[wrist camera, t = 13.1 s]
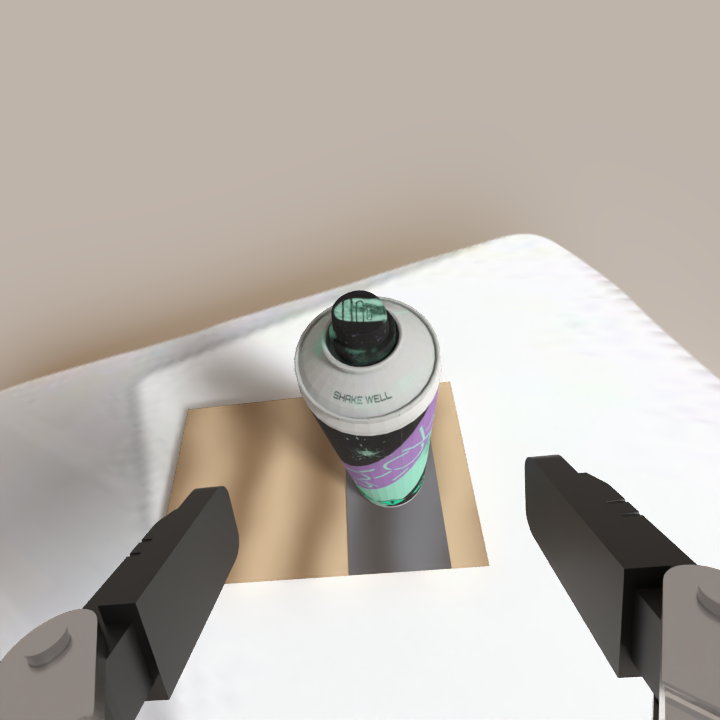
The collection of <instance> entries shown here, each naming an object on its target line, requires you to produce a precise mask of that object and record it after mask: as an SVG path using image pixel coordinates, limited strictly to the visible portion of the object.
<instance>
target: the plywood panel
mask: <svg viewBox="0 0 720 720" xmlns="http://www.w3.org/2000/svg"><path fill="white" fill-rule="evenodd" d="M216 486H224V487H226V489H227V490H228V493H229V496H230V500H231V504H232V509H233V513H234V517H235V521H236V525H237V529H238V533H239V550H238V555H237V558H236V561H235V563H234V565H233V567H232V569H231V571H230V573H229V575H228V577H227V580H226V582H225V584H229V583H244V582H259V581H274V580H288V579H303V578H318V577H333V576H347V575H362V574H377V573H392V572H407V571H421V570H436V569H451V568H466V567H480V566H489V562H488V558H487V553H486V548H485V543H484V539H483V534H482V529H481V525H480V520H479V515H478V511H477V506H476V501H475V496H474V492H473V487H472V482H471V478H470V473H469V468H468V464H467V459H466V454H465V450H464V445H463V440H462V435H461V431H460V426H459V421H458V417H457V412H456V407H455V403H454V398H453V393H452V388H451V384H450V382H442V383H439V388H438V394H437V401H436V407H435V413H434V419H433V426H432V432H431V438H430V444H429V451H428V457H427V463H426V469H425V475H424V481H423V484H422V486H421V489H420V490H419V492H418V493H417V495H416V496H415V497H414V498H413V499H412V500H411V501H409V502H408V503H406V504H404V505H401V506H399V507H392V508H389V507H382V506H378V505H376V504H374V503H372V502H370V501H369V500H368V499H367V498H365V497H364V496H363V494H362V493H361V492H360V491H359V489H358V487H357V486H356V484H355V482H354V481H353V479H352V477H351V476H350V474H349V473H348V471H347V469H346V468H345V466H344V464H343V463H342V461H341V459H340V458H339V456H338V455H337V453H336V451H335V450H334V448H333V446H332V445H331V443H330V441H329V440H328V438H327V436H326V435H325V433H324V432H323V430H322V428H321V427H320V425H319V423H318V422H317V420H316V418H315V417H314V415H313V414H312V412H311V410H310V409H309V407H308V405H307V404H306V402H305V400H304V398H303V397H301V398H292V399H282V400H273V401H263V402H254V403H245V404H235V405H226V406H216V407H207V408H198V409H188V414H187V419H186V424H185V429H184V434H183V438H182V443H181V448H180V453H179V458H178V462H177V467H176V472H175V477H174V482H173V487H172V491H171V496H170V501H169V506H168V511H167V515H168V514H169V513H171V512H172V511H173V510H175V509H178V508H179V506H180V505H181V504H182V503H183V501H184V500H185V499H186V498H187V497H188V495H189V494H190V493H191V492H192V491H193V490H194V489H196V488H205V487H216ZM167 515H166V516H167Z"/></svg>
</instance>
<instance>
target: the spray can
mask: <svg viewBox="0 0 720 720" xmlns="http://www.w3.org/2000/svg"><path fill="white" fill-rule="evenodd" d="M294 360H295V373H296V377H297V381H298V384H299V388H300V391H301V394H302V396H303V398H304V400H305V402H306V404H307V405H308V407H309V409H310V410H311V412H312V414H313V415H314V417H315V418H316V420H317V422H318V423H319V425H320V427H321V428H322V430H323V432H324V433H325V435H326V436H327V438H328V440H329V441H330V443H331V445H332V446H333V448H334V450H335V451H336V453H337V455H338V456H339V458H340V459H341V461H342V463H343V464H344V466H345V468H346V469H347V471H348V473H349V474H350V476H351V477H352V479H353V481H354V482H355V484H356V486H357V487H358V489H359V491H360V492H361V493H362V494H363V496H364V497H365V498H367V499H368V500H369V501H370V502H372V503H374V504H376V505H378V506H382V507H389V508H392V507H399V506H401V505H404V504H406V503H408V502H409V501H411V500H412V499H413V498H414V497H415V496H416V495H417V493H418V492H419V490H420V489H421V486H422V484H423V481H424V475H425V469H426V463H427V457H428V451H429V444H430V438H431V432H432V426H433V419H434V413H435V407H436V401H437V394H438V388H439V382H440V376H441V357H440V348H439V343H438V340H437V336H436V334H435V332H434V330H433V328H432V326H431V325H430V323H429V322H428V321H427V320H426V319H425V317H424V316H423V315H422V314H420V313H419V312H418V311H417V310H415V309H414V308H413V307H411V306H409V305H407V304H405V303H403V302H400V301H397V300H394V299H391V298H385V297H378V296H375V295H374V294H372V293H370V292H367V291H360V290H358V291H352V292H349V293H347V294H345V295H343V296H341V297H340V298H339V299H338V300H337V301H336V302H335V303H334V305H333V306H332V307H330V308H328V309H326V310H325V311H323V312H322V313H321V314H319V315H318V316H317V317H316V318H315V319H314V320H313V321H312V322H311V323H310V324H309V325H308V326H307V328H306V329H305V331H304V332H303V334H302V335H301V338H300V340H299V342H298V345H297V348H296V353H295V358H294Z"/></svg>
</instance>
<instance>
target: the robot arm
mask: <svg viewBox="0 0 720 720" xmlns="http://www.w3.org/2000/svg"><path fill="white" fill-rule="evenodd" d="M525 499H526V516H527V520H528V524H529V527H530V530H531V533H532V535H533V537H534V538H535V540H536V542H537V543H538V545H539V547H540V548H541V550H542V552H543V553H544V555H545V557H546V558H547V560H548V562H549V563H550V565H551V567H552V568H553V570H554V572H555V573H556V575H557V577H558V578H559V580H560V582H561V583H562V585H563V587H564V588H565V590H566V592H567V593H568V595H569V597H570V598H571V600H572V602H573V603H574V605H575V607H576V608H577V610H578V612H579V613H580V615H581V617H582V618H583V620H584V622H585V623H586V625H587V627H588V628H589V630H590V632H591V633H592V635H593V637H594V638H595V640H596V642H597V643H598V645H599V647H600V648H601V650H602V652H603V653H604V655H605V657H606V658H607V660H608V662H609V663H610V665H611V667H612V668H613V670H614V672H615V673H616V675H617V677H618V678H624V677H643V678H644V680H645V681H646V683H647V684H648V686H649V687H650V689H651V690H652V692H653V701H652V720H720V570H718V569H714V568H711V567H706V566H700V565H697V564H696V563H694V562H693V561H692V560H691V559H690V558H689V557H688V556H687V555H686V554H685V553H684V552H682V551H681V550H680V549H679V548H678V547H677V546H676V545H675V544H674V543H673V542H671V541H670V540H669V539H668V538H667V537H666V536H665V535H664V534H663V533H662V532H660V531H659V530H658V529H657V528H656V527H655V526H654V525H653V524H652V523H651V522H649V521H648V520H647V519H646V518H645V517H644V516H643V515H640V514H639V512H638V511H637V510H636V509H635V508H634V507H633V506H632V505H631V504H630V503H629V502H625V499H624V498H623V497H622V496H621V495H620V494H619V493H618V492H616V491H615V490H614V489H613V488H612V487H611V486H610V485H609V484H607V483H605V482H603V481H601V480H599V479H597V478H596V477H594V476H592V475H590V474H588V473H578V472H577V471H576V470H575V469H574V468H573V467H572V466H570V465H569V464H568V463H567V462H566V461H565V460H564V459H563V458H562V457H561V456H560V455H548V456H537V457H528V458H527V459H526V461H525ZM238 550H239V533H238V529H237V525H236V521H235V517H234V513H233V509H232V504H231V500H230V496H229V493H228V490H227V489H226V487H224V486H216V487H205V488H196V489H194V490H193V491H192V492H191V493H190V494H189V495H188V497H187V498H186V499H185V500H184V501H183V503H182V504H181V505H180V506H179V508H178V509H175V510H173V511H172V512H171V513H169V514H168V515H167V516H165V517H164V518H163V519H161V520H160V521H159V522H157V523H156V524H155V525H154V526H153V527H152V528H151V530H150V531H149V532H148V533H147V534H146V535H145V537H144V538H143V539H142V542H141V543H139V544H138V545H137V546H136V547H135V548H134V549H133V550H132V552H131V553H130V557H126V559H125V560H124V561H123V562H122V563H121V564H120V566H119V567H118V568H117V569H116V570H115V571H114V572H113V574H112V575H111V576H110V577H109V578H108V579H107V581H106V582H105V583H104V584H103V585H102V586H101V588H100V589H99V590H98V591H97V592H96V593H95V595H94V596H93V597H92V598H91V599H90V600H89V601H88V603H87V604H86V605H85V606H84V607H83V608H82V609H78V610H73V611H69V612H66V613H63V614H61V615H59V616H56V617H54V618H52V619H50V620H48V621H47V622H45V623H43V624H42V625H40V626H38V627H37V628H35V629H34V630H33V631H31V632H30V633H29V634H27V635H26V636H25V637H24V638H22V639H21V640H20V641H19V642H18V643H17V644H16V645H15V646H14V647H13V648H12V649H11V650H10V651H9V652H8V653H7V654H6V656H5V657H4V658H3V659H2V661H0V720H136V717H137V715H138V713H139V711H140V709H141V707H142V705H143V703H144V702H145V701H153V700H169V699H170V697H171V695H172V693H173V691H174V688H175V686H176V684H177V682H178V680H179V678H180V676H181V674H182V672H183V670H184V668H185V665H186V663H187V661H188V659H189V657H190V655H191V653H192V651H193V649H194V647H195V644H196V642H197V640H198V638H199V636H200V634H201V632H202V630H203V628H204V626H205V624H206V621H207V619H208V617H209V615H210V613H211V611H212V609H213V607H214V605H215V603H216V601H217V598H218V596H219V594H220V592H221V590H222V588H223V586H224V584H225V582H226V580H227V577H228V575H229V573H230V571H231V569H232V567H233V565H234V563H235V561H236V558H237V555H238Z"/></svg>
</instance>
